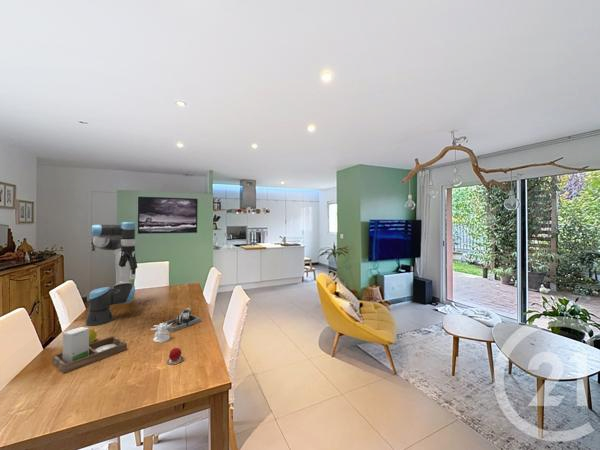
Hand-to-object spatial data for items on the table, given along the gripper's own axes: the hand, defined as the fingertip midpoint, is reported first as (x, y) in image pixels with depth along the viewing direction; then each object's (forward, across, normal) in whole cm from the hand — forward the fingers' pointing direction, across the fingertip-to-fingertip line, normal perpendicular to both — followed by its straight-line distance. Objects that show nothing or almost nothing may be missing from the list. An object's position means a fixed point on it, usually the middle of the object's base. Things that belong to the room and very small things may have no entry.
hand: (127, 277), depth 162 cm
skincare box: (+34, +21, -32) cm, 51 cm away
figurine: (+35, +31, +6) cm, 47 cm away
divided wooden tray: (+34, +21, -26) cm, 48 cm away
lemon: (+35, +1, -21) cm, 41 cm away
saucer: (+34, +21, -19) cm, 44 cm away
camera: (+35, +19, +28) cm, 49 cm away
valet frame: (+35, +20, +25) cm, 47 cm away
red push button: (+35, +60, -3) cm, 69 cm away
